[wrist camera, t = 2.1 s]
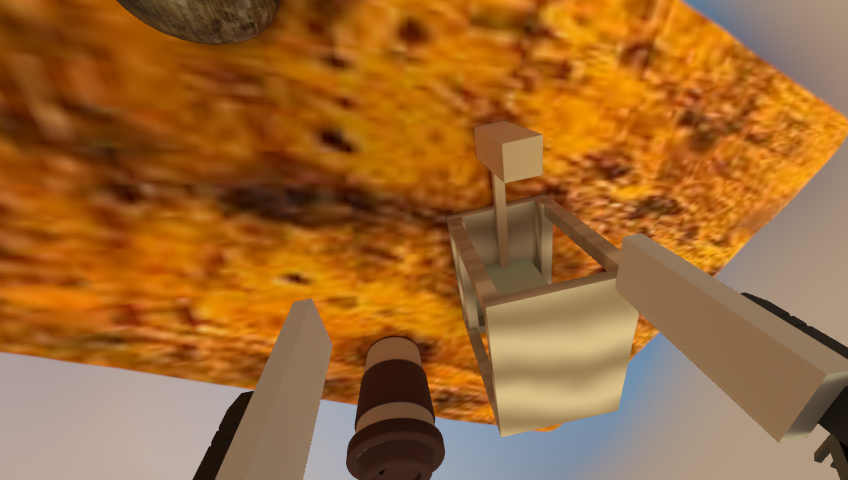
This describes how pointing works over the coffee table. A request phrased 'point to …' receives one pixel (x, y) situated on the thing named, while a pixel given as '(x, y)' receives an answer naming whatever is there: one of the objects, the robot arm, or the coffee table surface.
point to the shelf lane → (520, 246)
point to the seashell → (206, 18)
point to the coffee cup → (394, 417)
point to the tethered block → (508, 161)
